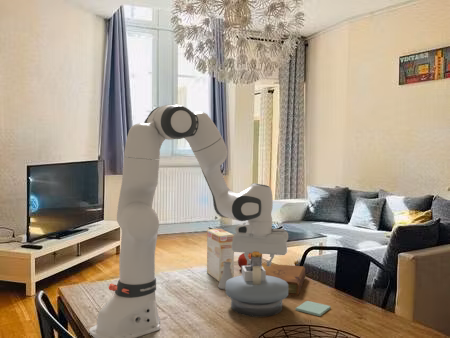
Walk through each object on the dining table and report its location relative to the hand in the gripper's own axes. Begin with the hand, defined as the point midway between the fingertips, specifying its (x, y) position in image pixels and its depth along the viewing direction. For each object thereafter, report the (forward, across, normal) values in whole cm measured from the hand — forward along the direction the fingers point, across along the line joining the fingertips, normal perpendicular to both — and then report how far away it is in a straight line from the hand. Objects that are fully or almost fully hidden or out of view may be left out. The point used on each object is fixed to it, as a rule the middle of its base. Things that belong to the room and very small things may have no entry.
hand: (259, 265), depth 162 cm
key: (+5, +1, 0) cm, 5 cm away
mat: (+13, -20, +5) cm, 24 cm away
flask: (+14, +14, -12) cm, 23 cm away
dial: (+8, 0, +7) cm, 10 cm away
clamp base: (+13, 0, +7) cm, 15 cm away
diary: (+14, -6, -20) cm, 25 cm away
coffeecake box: (+13, +20, -26) cm, 35 cm away
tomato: (+13, +10, -39) cm, 42 cm away
